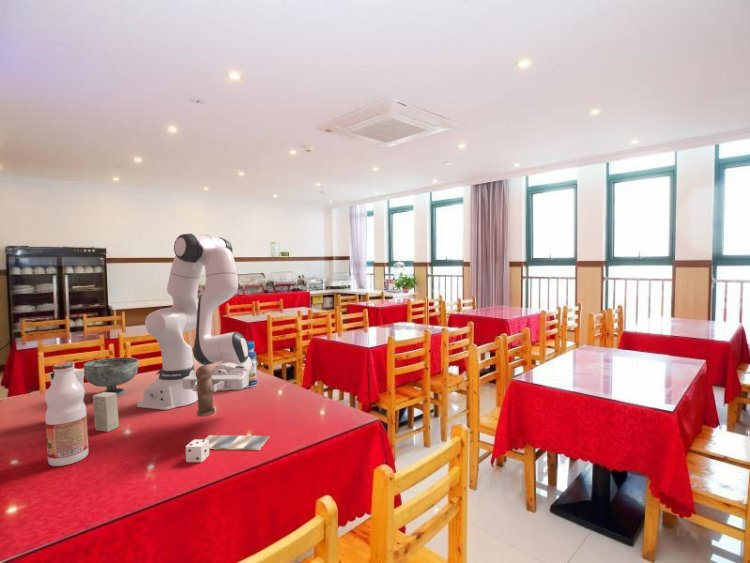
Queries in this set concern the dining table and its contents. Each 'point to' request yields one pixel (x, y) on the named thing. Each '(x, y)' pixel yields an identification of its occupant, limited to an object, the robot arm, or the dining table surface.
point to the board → (236, 442)
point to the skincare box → (106, 411)
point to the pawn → (204, 391)
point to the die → (197, 450)
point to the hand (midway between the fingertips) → (203, 388)
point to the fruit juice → (66, 417)
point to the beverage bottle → (254, 365)
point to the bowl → (111, 372)
